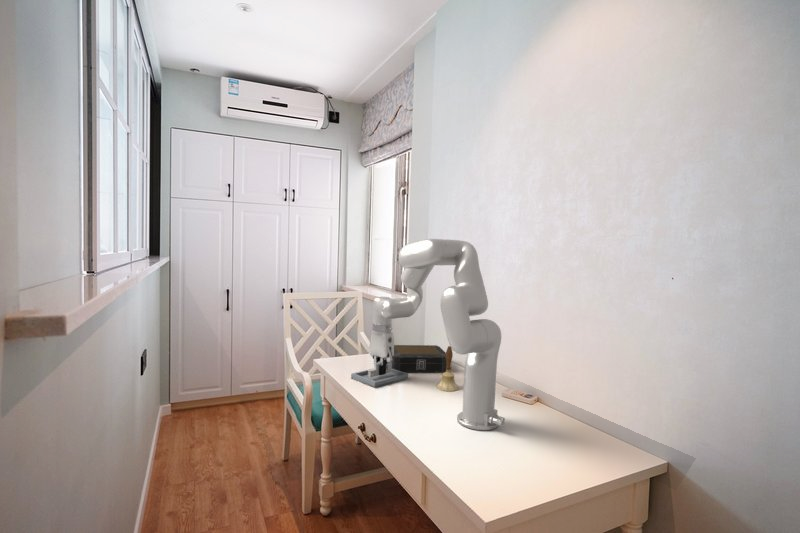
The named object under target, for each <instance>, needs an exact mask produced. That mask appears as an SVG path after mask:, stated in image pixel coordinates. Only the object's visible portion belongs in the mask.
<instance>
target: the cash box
mask: <svg viewBox="0 0 800 533" xmlns="http://www.w3.org/2000/svg"><path fill="white" fill-rule="evenodd" d="M446 367H447V361H446V351H445V350H443V348H442V347H440V346H439V345H437V344H435V345H433V344H432V345H430V344H429V345H428V344H427V345H425V344H423V345H422V344H421V345H420V344H418V345H417V344H408V345H406V344H401V345H399V344H394V356H393V357H392V369H395V370H398V371H401V372H404V373H407V374H417V373H418V374H427V373H428V374H436V373H437V374H439V373H440V374H441V373H442V374H443V373H444V372H446Z"/></svg>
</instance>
